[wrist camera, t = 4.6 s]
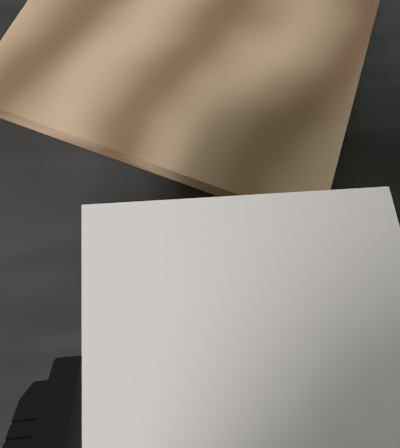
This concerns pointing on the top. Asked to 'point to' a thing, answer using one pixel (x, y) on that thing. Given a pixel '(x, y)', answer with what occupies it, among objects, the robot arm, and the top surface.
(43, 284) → the top surface
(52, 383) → the robot arm
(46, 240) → the top surface
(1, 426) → the top surface
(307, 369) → the light grey rectangular block
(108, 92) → the board
